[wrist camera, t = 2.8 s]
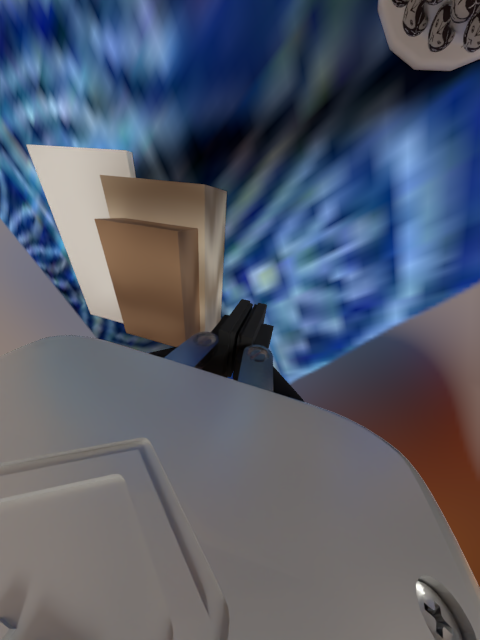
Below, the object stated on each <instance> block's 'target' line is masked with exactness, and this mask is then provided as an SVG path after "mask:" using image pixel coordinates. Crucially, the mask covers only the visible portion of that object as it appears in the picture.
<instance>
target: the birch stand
mask: <svg viewBox="0 0 480 640" xmlns="http://www.w3.org/2000/svg"><path fill="white" fill-rule="evenodd" d="M100 179H101V183H102V187H103V191H104V195H105V199H106V204H107V208H108V212H109V216H110V218H129V219H136V220H143V221H149V222H156V223H163V224H170V225H177V226H184V227H191V228H198V252H199V301H200V332H204V331H206V332H211V331H212V330H213V329H214V328H215V326H216V325H217V324H218V323H219V321H220V320H221V301H222V281H223V261H224V240H225V220H226V199H227V191H224V190H221V189H218V188H215V187H211V186H208V185H205V184H194V183H183V182H173V181H162V180H151V179H140V178H129V177H119V176H108V175H100Z"/></svg>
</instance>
